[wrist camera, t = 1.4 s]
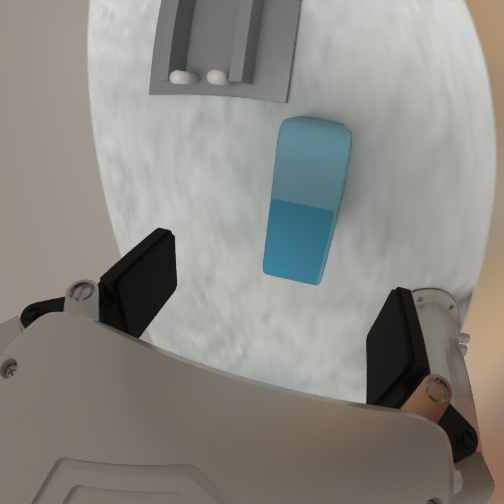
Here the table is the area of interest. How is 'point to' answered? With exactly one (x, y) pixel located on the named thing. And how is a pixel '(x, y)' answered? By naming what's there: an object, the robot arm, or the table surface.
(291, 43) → the tray
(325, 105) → the table surface
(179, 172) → the table surface
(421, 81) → the table surface
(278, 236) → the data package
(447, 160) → the table surface
